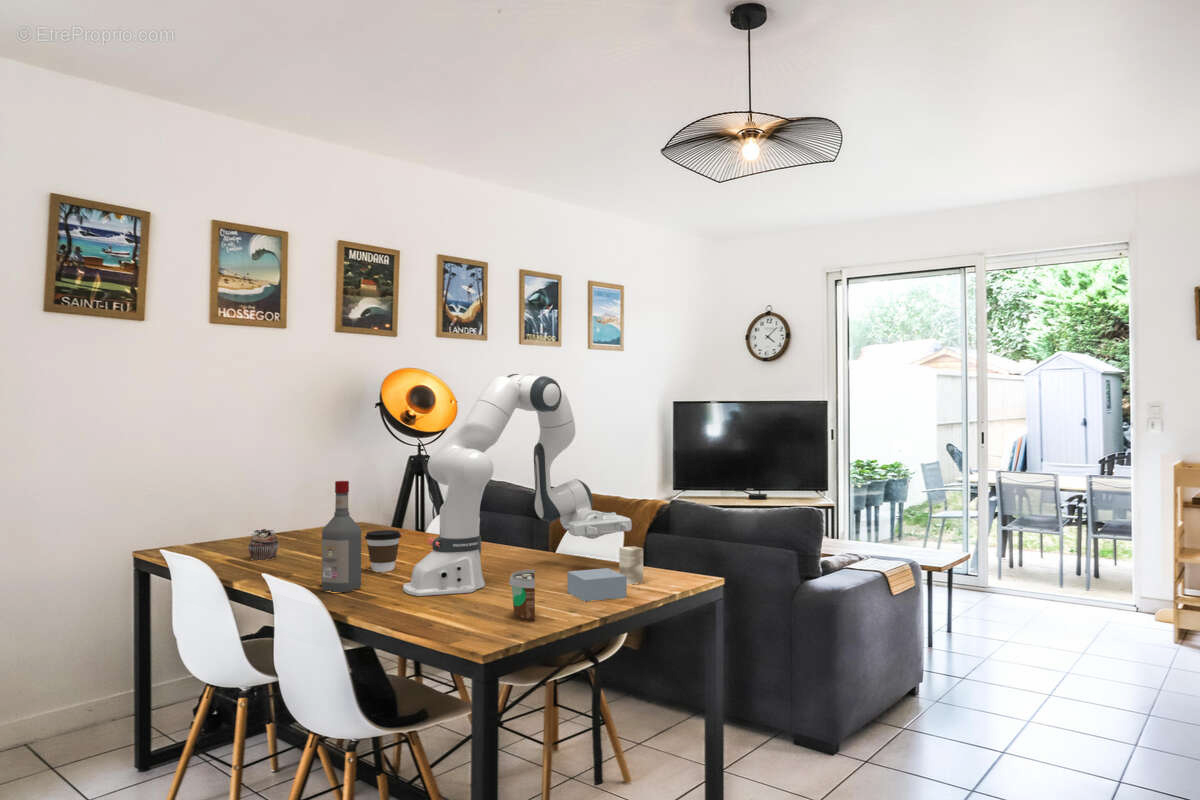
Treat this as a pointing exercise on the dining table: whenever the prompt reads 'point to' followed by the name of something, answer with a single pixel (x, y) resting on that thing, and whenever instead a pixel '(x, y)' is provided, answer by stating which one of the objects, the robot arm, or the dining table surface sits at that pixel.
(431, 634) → the dining table surface
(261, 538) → the cupcake
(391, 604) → the dining table surface
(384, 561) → the coffee cup
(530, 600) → the food container
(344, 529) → the liquor
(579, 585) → the slate block
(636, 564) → the birch block
